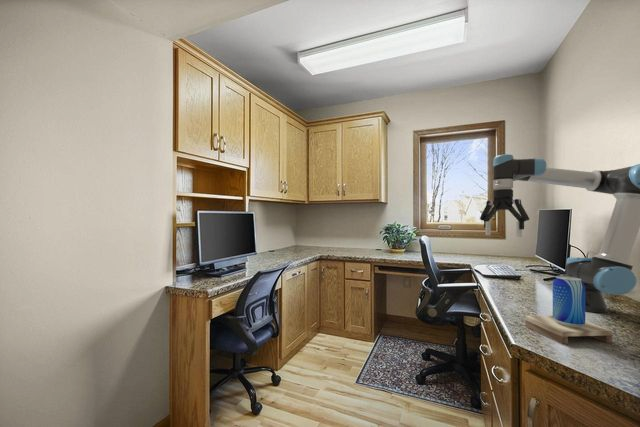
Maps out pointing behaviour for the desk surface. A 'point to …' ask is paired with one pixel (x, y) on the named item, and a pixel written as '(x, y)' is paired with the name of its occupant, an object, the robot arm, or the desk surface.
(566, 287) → the beer can
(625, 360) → the desk surface
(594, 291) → the robot arm
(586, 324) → the shelf stand
